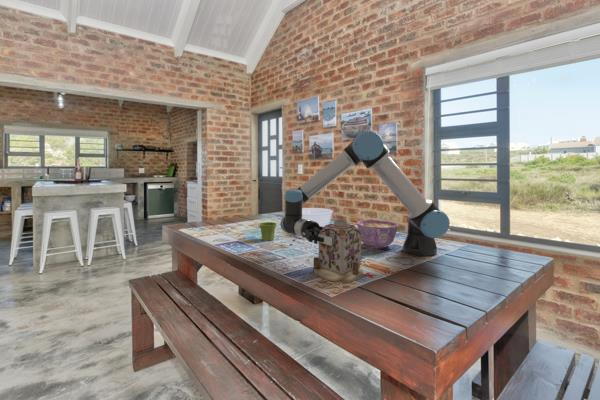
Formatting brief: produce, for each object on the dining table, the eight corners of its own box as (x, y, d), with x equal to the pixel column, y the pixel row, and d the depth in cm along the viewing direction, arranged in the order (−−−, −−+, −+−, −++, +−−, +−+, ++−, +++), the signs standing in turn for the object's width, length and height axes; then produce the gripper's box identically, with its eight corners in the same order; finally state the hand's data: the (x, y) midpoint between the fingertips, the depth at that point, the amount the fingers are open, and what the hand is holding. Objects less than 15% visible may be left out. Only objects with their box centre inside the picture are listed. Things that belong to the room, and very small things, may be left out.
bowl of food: (387, 254, 146) (388, 229, 145) (348, 247, 158) (349, 223, 157) (403, 245, 162) (404, 223, 160) (366, 239, 174) (367, 218, 172)
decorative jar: (336, 261, 128) (338, 216, 126) (361, 267, 120) (363, 220, 118) (317, 267, 120) (317, 220, 118) (342, 275, 112) (343, 224, 110)
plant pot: (268, 242, 165) (268, 226, 164) (255, 240, 170) (255, 223, 169) (280, 239, 172) (280, 223, 171) (267, 236, 178) (267, 221, 177)
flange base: (354, 264, 130) (354, 250, 130) (369, 280, 113) (370, 264, 112) (309, 266, 128) (309, 251, 127) (318, 282, 110) (318, 265, 109)
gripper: (329, 234, 141) (367, 244, 125) (282, 242, 126) (318, 254, 109) (329, 217, 140) (367, 225, 124) (283, 223, 125) (319, 233, 108)
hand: (344, 238), depth 117 cm, fingers open, 13 cm apart
